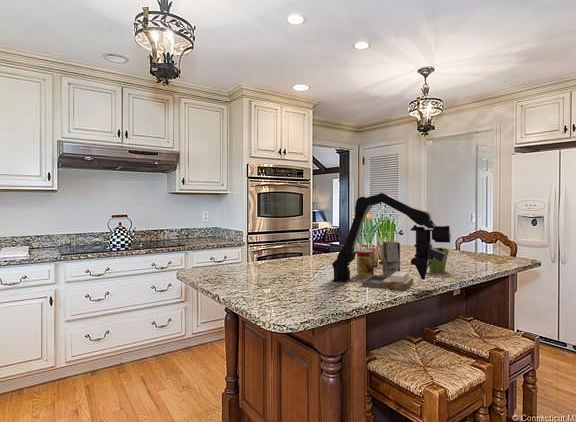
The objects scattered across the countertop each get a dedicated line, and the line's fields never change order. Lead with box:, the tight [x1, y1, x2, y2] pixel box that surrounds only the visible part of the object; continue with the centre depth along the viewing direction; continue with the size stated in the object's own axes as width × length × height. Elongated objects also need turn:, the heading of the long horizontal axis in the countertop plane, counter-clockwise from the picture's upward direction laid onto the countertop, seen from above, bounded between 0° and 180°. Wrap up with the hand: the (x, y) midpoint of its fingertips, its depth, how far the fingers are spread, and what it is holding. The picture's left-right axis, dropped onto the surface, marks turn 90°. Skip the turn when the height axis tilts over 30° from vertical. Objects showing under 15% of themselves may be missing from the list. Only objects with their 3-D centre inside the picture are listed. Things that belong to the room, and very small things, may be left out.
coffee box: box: [382, 240, 401, 276], centre depth 176 cm, size 9×6×16 cm
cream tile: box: [391, 271, 409, 283], centre depth 154 cm, size 5×10×2 cm, turn 149°
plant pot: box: [428, 247, 451, 273], centre depth 185 cm, size 12×12×11 cm
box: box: [361, 274, 389, 289], centre depth 160 cm, size 8×15×2 cm, turn 149°
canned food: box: [356, 249, 375, 278], centre depth 177 cm, size 8×8×12 cm
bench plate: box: [381, 276, 414, 291], centre depth 155 cm, size 10×13×2 cm
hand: (423, 279), depth 150 cm, fingers closed
